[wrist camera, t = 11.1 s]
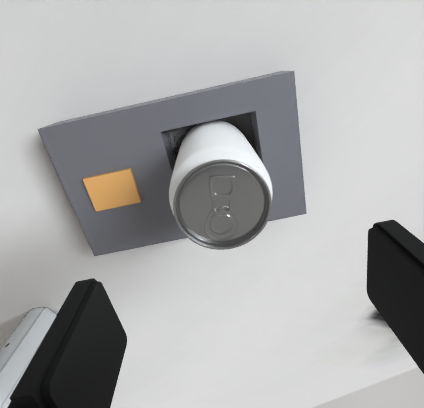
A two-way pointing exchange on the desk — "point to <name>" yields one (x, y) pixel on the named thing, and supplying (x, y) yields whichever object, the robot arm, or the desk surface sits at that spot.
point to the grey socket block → (168, 158)
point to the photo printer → (22, 350)
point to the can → (219, 187)
